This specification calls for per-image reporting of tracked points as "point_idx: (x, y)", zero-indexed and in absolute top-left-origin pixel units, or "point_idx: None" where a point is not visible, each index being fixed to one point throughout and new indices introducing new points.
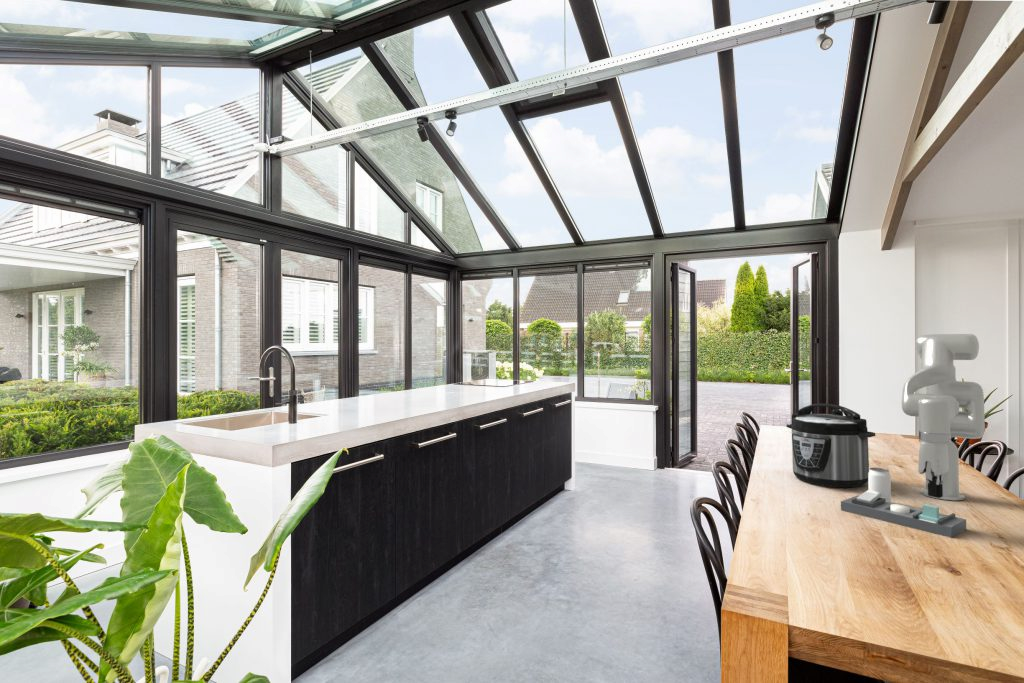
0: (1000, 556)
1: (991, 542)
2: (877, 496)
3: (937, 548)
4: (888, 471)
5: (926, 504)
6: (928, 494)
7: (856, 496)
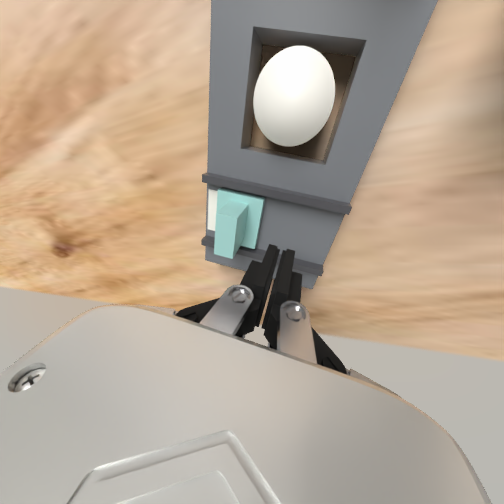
0: (180, 301)
1: None
2: None
3: (127, 228)
4: None
5: (234, 224)
6: (268, 246)
7: None
